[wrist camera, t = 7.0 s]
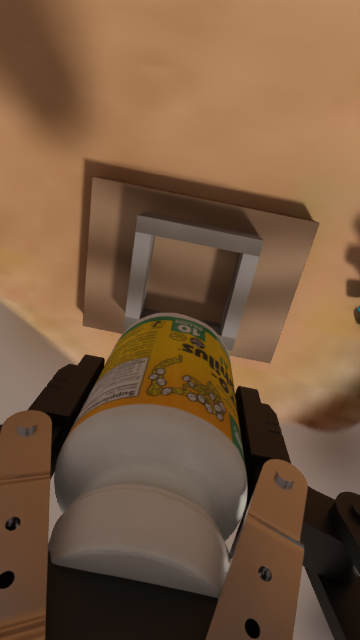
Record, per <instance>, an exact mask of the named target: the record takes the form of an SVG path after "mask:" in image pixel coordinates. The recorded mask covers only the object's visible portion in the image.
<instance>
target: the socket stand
mask: <svg viewBox="0 0 360 640" xmlns="http://www.w3.org/2000/svg"><path fill="white" fill-rule="evenodd" d="M318 226H319V223H318V222H316V221H313V220H308V219H303V218H298V217H294V216H289V215H284V214H279V213H274V212H269V211H264V210H259V209H254V208H249V207H244V206H239V205H234V204H229V203H224V202H220V201H215V200H210V199H205V198H200V197H195V196H190V195H185V194H180V193H175V192H170V191H165V190H160V189H155V188H150V187H146V186H141V185H136V184H131V183H126V182H121V181H116V180H111V179H106V178H101V177H92V191H91V206H90V221H89V236H88V252H87V267H86V282H85V297H84V312H83V326H86V327H91V328H96V329H101V330H106V331H111V332H116V333H121V334H123V333H124V332H125V331H126V330H127V329H128V328H129V327H130V326H131V325H132V324H134V323H135V322H137V321H138V320H140V319H142V318H144V317H147V316H149V315H152V314H156V313H178V314H182V315H186V316H189V317H191V318H194V319H197V320H199V321H201V322H203V323H205V324H207V325H208V326H209V327H211V328H212V329H213V330H214V331H215V332H216V333H217V334H218V335H219V337H220V338H221V339H222V341H223V343H224V344H225V346H226V348H227V351H228V354H229V355H231V356H236V357H241V358H246V359H251V360H256V361H261V362H266V363H271V360H272V357H273V354H274V351H275V348H276V346H277V343H278V340H279V337H280V334H281V331H282V328H283V326H284V323H285V320H286V317H287V314H288V311H289V309H290V306H291V303H292V300H293V297H294V294H295V292H296V289H297V286H298V283H299V280H300V277H301V274H302V272H303V269H304V266H305V263H306V260H307V257H308V255H309V252H310V249H311V246H312V243H313V240H314V237H315V235H316V232H317V229H318Z"/></svg>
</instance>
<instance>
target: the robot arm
mask: <svg viewBox="0 0 360 640" xmlns="http://www.w3.org/2000/svg"><path fill="white" fill-rule="evenodd" d="M104 363H105V360H104V358H101V357H96V356H91V355H85V356H84V357H83V358H82V360H81V361H80V363H79V364H78V366H77V365H73V364H68V365H67V366H65V367H63V368H61V369H60V370H58V372H57V373H56V374H55V375H54V377H53V378H52V380H51V381H50V382H49V383H48V384H47V387H45V388H44V390H43V391H42V392H41V393H40V395H39V396H38V397H37V399H36V400H35V401H34V402H33V404H32V405H31V406H30V408H29V409H28V410H27V411H22V412H18V413H16V414H14V415H12V416H10V417H9V418H8V419H7V420H6V421H5V422H4V423H3V424H2V425H0V640H292V639H293V632H294V624H295V617H296V609H297V601H298V594H299V587H300V579H301V571H302V565H303V566H304V567H305V570H306V572H307V575H308V577H309V579H310V582H311V584H312V587H313V589H314V591H315V594H316V596H317V599H318V601H319V603H320V606H321V608H322V611H323V613H324V615H325V618H326V620H327V623H328V625H329V628H330V630H331V632H332V635H333V637H334V640H360V576H359V574H360V495H358V494H355V493H352V492H343V493H340V494H339V495H338V496H337V498H336V499H335V500H334V499H332V498H330V497H328V496H326V495H324V494H322V493H320V492H317V491H316V490H314V489H312V488H310V487H309V486H308V485H307V481H306V479H305V477H304V475H303V474H302V473H301V472H300V471H299V470H298V469H297V468H296V467H295V466H293V465H292V464H291V462H290V459H289V455H288V452H287V448H286V445H285V442H284V438H283V435H282V432H281V428H280V426H279V422H278V418H277V415H276V413H275V412H274V411H273V410H272V408H271V407H270V406H269V405H267V404H263V403H261V401H260V397H259V393H258V390H257V389H252V388H247V387H242V386H238V388H237V390H236V393H235V399H236V405H237V414H238V419H239V426H240V433H241V440H242V446H243V453H244V460H245V466H246V474H247V501H246V506H245V509H244V512H243V517H242V519H241V522H240V525H239V527H238V530H237V533H236V536H235V539H234V542H233V544H232V547H231V550H230V553H229V557H230V561H229V567H228V570H227V573H226V576H225V579H224V582H223V585H222V588H221V591H220V594H219V597H218V598H216V597H211V596H207V595H203V594H198V593H194V592H189V591H185V590H180V589H175V588H170V587H166V586H161V585H157V584H152V583H147V582H142V581H137V580H132V579H127V578H122V577H117V576H111V575H106V574H99V573H94V572H89V571H84V570H79V569H74V568H69V567H64V566H59V565H56V564H53V563H52V561H51V556H50V552H49V551H48V531H49V497H50V480H51V477H52V476H53V474H54V472H55V467H56V462H57V459H58V455H59V453H60V451H61V448H62V446H63V444H64V442H65V440H66V438H67V436H68V434H69V432H70V430H71V428H72V426H73V424H74V423H75V421H76V419H77V417H78V415H79V413H80V411H81V409H82V407H83V405H84V403H85V402H86V400H87V398H88V396H89V394H90V392H91V391H92V389H93V387H94V385H95V383H96V381H97V379H98V378H99V376H100V374H101V372H102V370H103V368H104Z"/></svg>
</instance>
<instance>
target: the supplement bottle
mask: <svg viewBox="0 0 360 640" xmlns="http://www.w3.org/2000/svg"><path fill="white" fill-rule="evenodd" d="M54 484H55V494H56V498H57V502H58V504H59V507H60V510H61V511H62V513H63V514H62V515H61V516H60V518H59V519H58V521H57V522H56V524H55V526H54V528H53V531H52V535H51V538H50V541H49V543H48V551H49V552H50V556H51V561H52V563H53V564H56V565H59V566H64V567H69V568H74V569H79V570H84V571H89V572H94V573H99V574H106V575H111V576H117V577H122V578H127V579H132V580H137V581H142V582H147V583H152V584H157V585H161V586H166V587H170V588H175V589H180V590H185V591H189V592H194V593H198V594H203V595H207V596H211V597H216V598H218V597H219V594H220V591H221V588H222V585H223V582H224V579H225V576H226V573H227V570H228V567H229V561H230V557H229V552H228V548H227V546H226V544H225V541H226V540H227V539H228V538H229V536H230V535H231V534H232V533H233V532H234V530H235V529H236V527H237V525H238V523H239V522H240V520H241V518H242V515H243V512H244V509H245V506H246V501H247V474H246V466H245V460H244V453H243V446H242V440H241V433H240V426H239V419H238V414H237V405H236V399H235V392H234V384H233V377H232V370H231V363H230V357H229V354H228V351H227V348H226V346H225V344H224V343H223V341H222V339H221V338H220V337H219V335H218V334H217V333H216V332H215V331H214V330H213V329H212V328H211V327H209V326H208V325H207V324H205V323H203V322H201V321H199V320H197V319H194V318H191V317H189V316H186V315H182V314H178V313H156V314H152V315H149V316H147V317H144V318H142V319H140V320H138V321H137V322H135V323H134V324H132V325H131V326H130V327H129V328H128V329H127V330H126V331H125V332H124V333H123V334H122V336H121V337H120V339H119V340H118V342H117V344H116V345H115V347H114V349H113V351H112V353H111V354H110V356H109V358H108V360H107V362H106V364H105V366H104V368H103V370H102V372H101V374H100V376H99V378H98V379H97V381H96V383H95V385H94V387H93V389H92V391H91V392H90V394H89V396H88V398H87V400H86V402H85V403H84V405H83V407H82V409H81V411H80V413H79V415H78V417H77V419H76V421H75V423H74V424H73V426H72V428H71V430H70V432H69V434H68V436H67V438H66V440H65V442H64V444H63V446H62V448H61V451H60V453H59V455H58V459H57V462H56V467H55V475H54Z"/></svg>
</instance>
